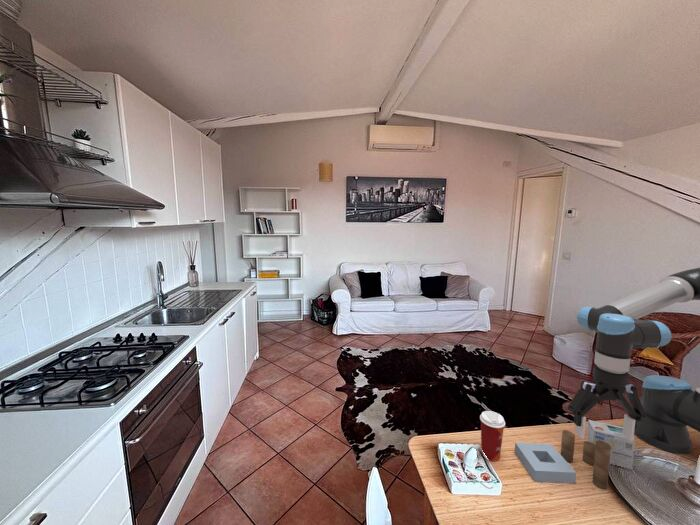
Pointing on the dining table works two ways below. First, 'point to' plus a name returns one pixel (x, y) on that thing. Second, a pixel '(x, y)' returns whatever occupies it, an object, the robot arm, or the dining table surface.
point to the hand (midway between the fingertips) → (603, 436)
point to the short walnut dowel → (589, 453)
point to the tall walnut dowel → (601, 464)
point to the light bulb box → (613, 442)
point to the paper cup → (491, 434)
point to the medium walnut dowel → (567, 445)
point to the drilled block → (545, 463)
